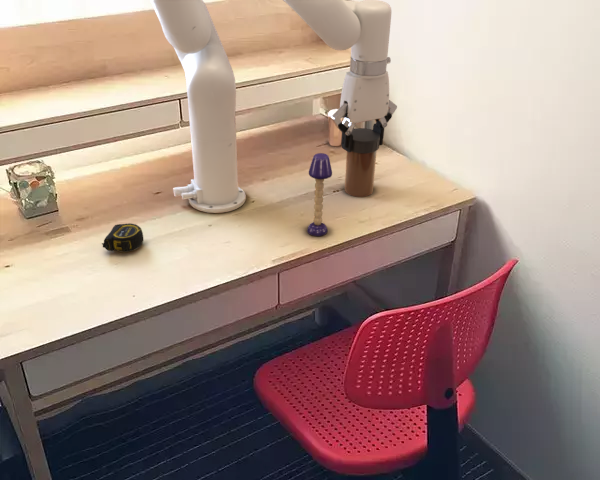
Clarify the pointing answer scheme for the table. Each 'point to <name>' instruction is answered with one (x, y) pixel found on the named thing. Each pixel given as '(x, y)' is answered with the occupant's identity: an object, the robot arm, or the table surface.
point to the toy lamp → (319, 191)
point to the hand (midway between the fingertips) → (362, 146)
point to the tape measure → (124, 238)
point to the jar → (360, 173)
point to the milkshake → (334, 130)
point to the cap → (365, 140)
